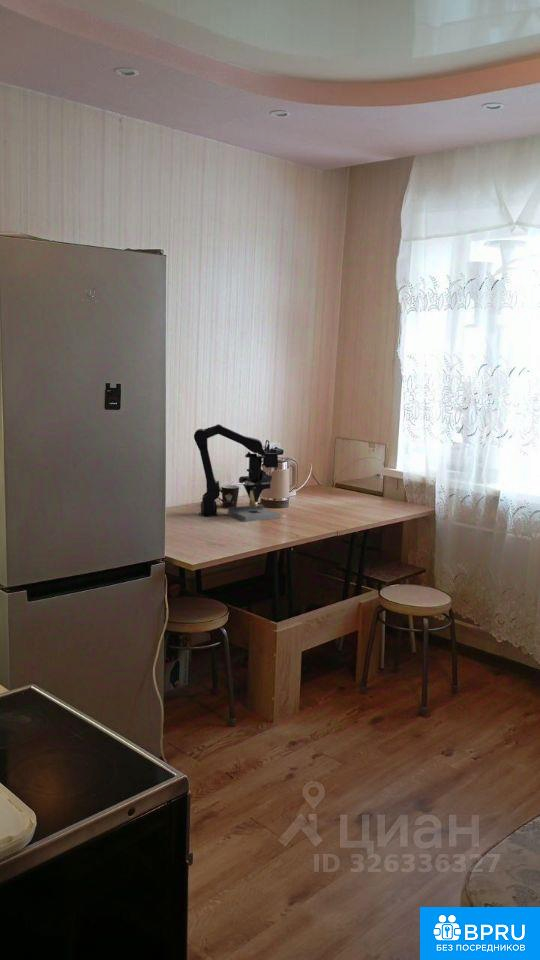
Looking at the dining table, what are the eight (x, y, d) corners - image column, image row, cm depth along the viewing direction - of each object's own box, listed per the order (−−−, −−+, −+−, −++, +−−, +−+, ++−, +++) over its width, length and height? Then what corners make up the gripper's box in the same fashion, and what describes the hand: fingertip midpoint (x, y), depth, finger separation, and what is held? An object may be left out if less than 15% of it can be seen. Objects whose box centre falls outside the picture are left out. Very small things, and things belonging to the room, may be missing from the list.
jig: (245, 521, 345) (245, 514, 344) (227, 514, 358) (228, 507, 358) (279, 518, 355) (279, 511, 354) (261, 511, 368) (261, 504, 367)
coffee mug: (242, 507, 376) (242, 486, 374) (231, 509, 368) (232, 489, 367) (222, 503, 382) (223, 483, 380) (212, 506, 374) (212, 485, 373)
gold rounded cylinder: (252, 506, 353) (252, 491, 352) (247, 504, 356) (248, 489, 355) (259, 505, 355) (260, 490, 354) (255, 504, 358) (255, 489, 357)
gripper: (281, 469, 349) (279, 503, 352) (259, 463, 365) (258, 496, 367) (260, 470, 343) (258, 505, 346) (238, 464, 359) (237, 497, 361)
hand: (253, 501), depth 355 cm, fingers closed on gold rounded cylinder, 4 cm apart
